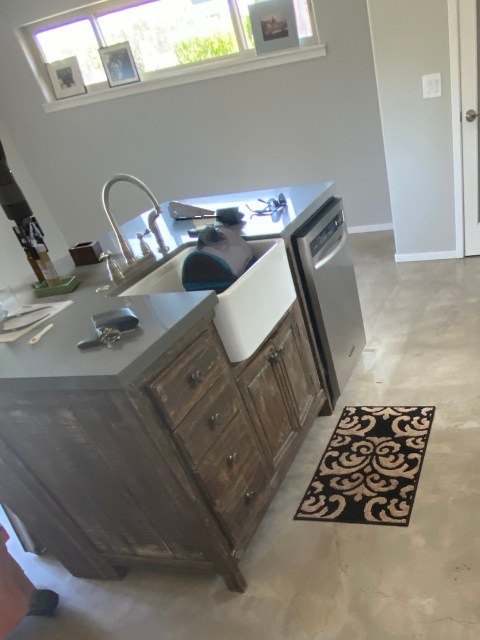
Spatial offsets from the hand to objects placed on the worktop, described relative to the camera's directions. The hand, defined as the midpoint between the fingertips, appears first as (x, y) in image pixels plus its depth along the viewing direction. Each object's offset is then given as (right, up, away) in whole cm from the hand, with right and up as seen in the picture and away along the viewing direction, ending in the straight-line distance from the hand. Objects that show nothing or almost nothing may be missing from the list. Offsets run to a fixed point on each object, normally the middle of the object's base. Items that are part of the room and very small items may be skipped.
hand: (41, 256), depth 171 cm
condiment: (-9, -2, +16) cm, 18 cm away
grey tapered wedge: (+27, +54, +72) cm, 94 cm away
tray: (+1, -8, +7) cm, 11 cm away
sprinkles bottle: (+1, -8, +7) cm, 10 cm away
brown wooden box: (-2, +14, +33) cm, 36 cm away
